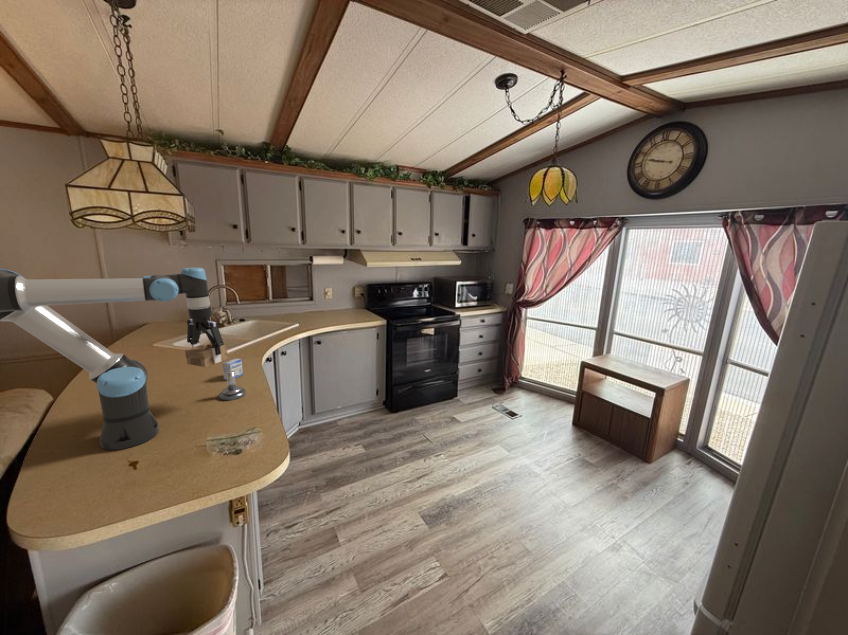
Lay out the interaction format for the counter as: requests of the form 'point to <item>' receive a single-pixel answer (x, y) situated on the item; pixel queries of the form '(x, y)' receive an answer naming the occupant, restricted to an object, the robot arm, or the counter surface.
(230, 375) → the post stand
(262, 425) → the counter surface
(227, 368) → the medicine box
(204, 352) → the light wood square frame
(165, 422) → the counter surface
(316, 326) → the counter surface
